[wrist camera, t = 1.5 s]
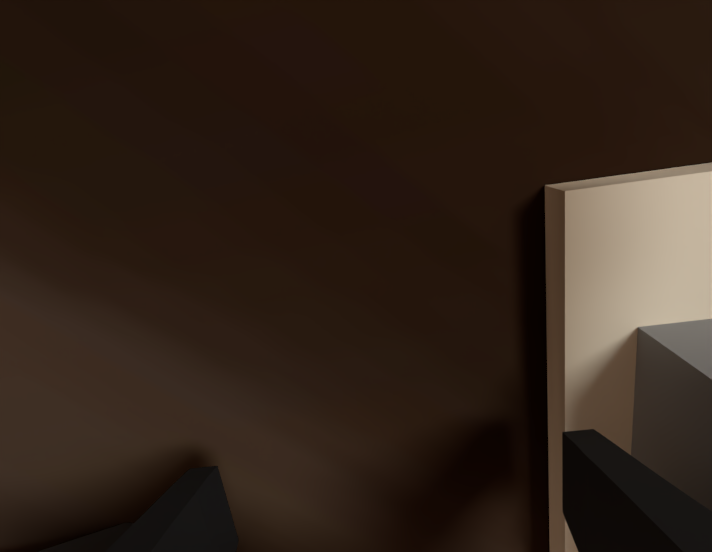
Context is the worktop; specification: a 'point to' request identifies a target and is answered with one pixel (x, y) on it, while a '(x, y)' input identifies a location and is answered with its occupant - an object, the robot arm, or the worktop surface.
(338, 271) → the worktop surface
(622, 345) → the board
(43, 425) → the worktop surface
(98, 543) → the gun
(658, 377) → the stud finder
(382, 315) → the worktop surface
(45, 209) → the worktop surface
